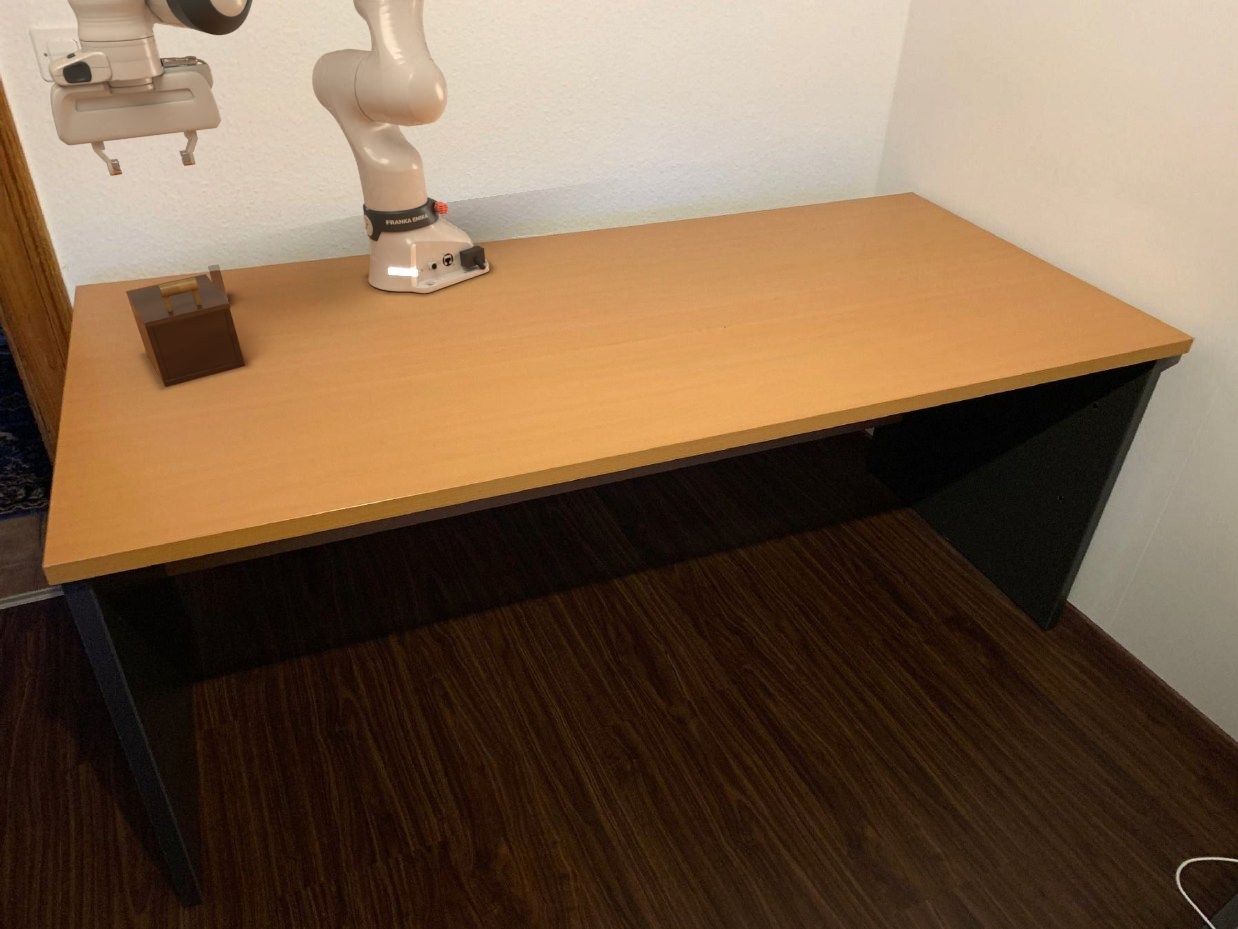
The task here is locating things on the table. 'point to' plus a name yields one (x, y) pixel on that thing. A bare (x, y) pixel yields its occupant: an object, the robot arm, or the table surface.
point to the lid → (177, 300)
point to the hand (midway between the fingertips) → (153, 169)
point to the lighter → (217, 279)
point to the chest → (192, 346)
